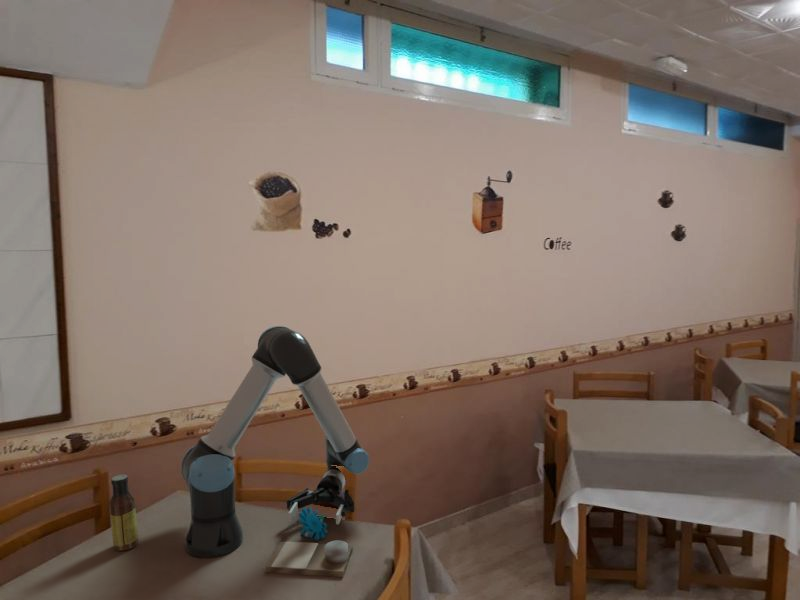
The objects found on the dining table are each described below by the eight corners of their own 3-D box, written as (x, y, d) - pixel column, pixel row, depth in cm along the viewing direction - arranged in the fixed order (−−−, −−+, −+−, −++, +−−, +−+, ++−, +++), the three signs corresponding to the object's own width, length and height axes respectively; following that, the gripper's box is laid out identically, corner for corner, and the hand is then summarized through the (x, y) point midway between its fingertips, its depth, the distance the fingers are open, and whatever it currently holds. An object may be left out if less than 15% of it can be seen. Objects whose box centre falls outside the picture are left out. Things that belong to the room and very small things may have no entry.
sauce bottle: (139, 538, 158) (136, 470, 156) (136, 550, 152) (133, 479, 150) (114, 542, 156) (110, 473, 154) (110, 554, 150) (105, 482, 148)
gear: (316, 542, 152) (295, 511, 155) (302, 554, 154) (282, 524, 157) (336, 529, 162) (316, 500, 165) (323, 540, 164) (303, 512, 167)
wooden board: (265, 572, 141) (265, 555, 141) (280, 546, 153) (280, 531, 153) (343, 577, 139) (342, 559, 139) (352, 551, 151) (352, 535, 150)
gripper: (370, 499, 176) (357, 533, 155) (293, 495, 178) (270, 529, 157) (369, 476, 175) (357, 507, 154) (292, 473, 178) (269, 503, 157)
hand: (313, 518), depth 156 cm, fingers open, 13 cm apart
